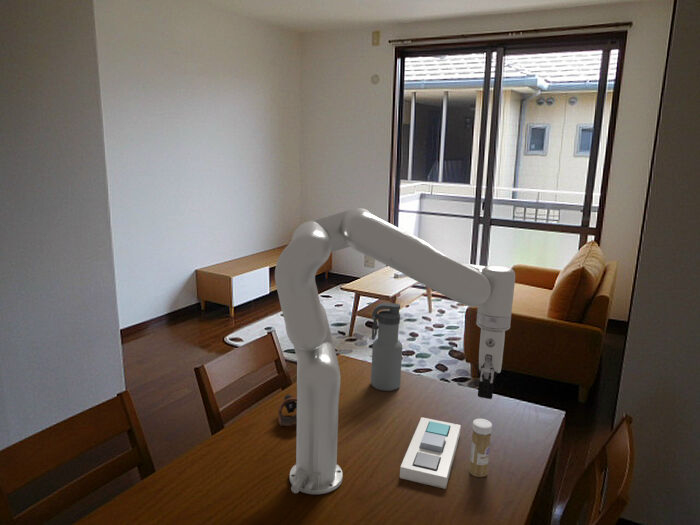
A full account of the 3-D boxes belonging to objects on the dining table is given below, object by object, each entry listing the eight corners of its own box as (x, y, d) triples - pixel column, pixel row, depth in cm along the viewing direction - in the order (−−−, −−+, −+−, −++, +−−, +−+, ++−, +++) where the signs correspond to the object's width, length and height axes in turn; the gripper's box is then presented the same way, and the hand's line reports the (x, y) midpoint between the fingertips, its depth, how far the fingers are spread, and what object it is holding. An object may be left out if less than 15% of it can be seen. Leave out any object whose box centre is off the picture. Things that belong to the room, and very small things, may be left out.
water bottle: (366, 389, 168) (370, 307, 162) (372, 377, 178) (376, 298, 172) (398, 393, 166) (403, 310, 160) (401, 380, 176) (406, 301, 169)
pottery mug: (320, 425, 147) (312, 408, 142) (291, 444, 144) (282, 428, 139) (301, 398, 156) (293, 381, 151) (274, 416, 153) (265, 399, 148)
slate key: (441, 455, 130) (442, 446, 129) (420, 451, 132) (420, 442, 131) (444, 444, 135) (445, 436, 134) (424, 440, 137) (424, 431, 136)
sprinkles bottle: (484, 480, 124) (489, 429, 121) (466, 474, 126) (470, 424, 123) (489, 470, 128) (494, 421, 125) (471, 464, 130) (475, 415, 127)
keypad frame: (445, 489, 120) (446, 477, 120) (399, 477, 124) (400, 466, 123) (459, 434, 143) (460, 425, 143) (420, 426, 147) (421, 417, 146)
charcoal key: (435, 478, 123) (436, 469, 122) (413, 473, 124) (413, 463, 124) (439, 465, 128) (439, 456, 127) (417, 460, 129) (418, 451, 129)
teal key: (445, 443, 138) (446, 435, 137) (425, 439, 139) (426, 430, 139) (449, 433, 143) (449, 425, 142) (429, 429, 144) (430, 421, 144)
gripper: (508, 334, 109) (500, 408, 113) (512, 311, 125) (505, 376, 129) (472, 329, 112) (466, 401, 115) (480, 307, 128) (474, 371, 131)
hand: (486, 388), depth 122 cm, fingers open, 9 cm apart
